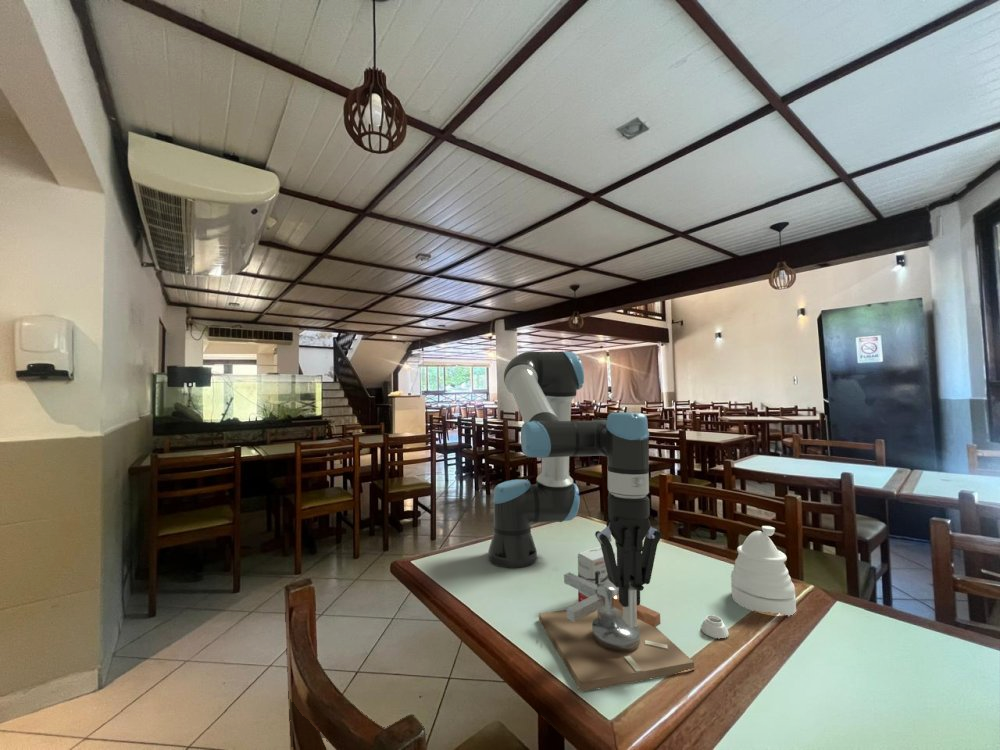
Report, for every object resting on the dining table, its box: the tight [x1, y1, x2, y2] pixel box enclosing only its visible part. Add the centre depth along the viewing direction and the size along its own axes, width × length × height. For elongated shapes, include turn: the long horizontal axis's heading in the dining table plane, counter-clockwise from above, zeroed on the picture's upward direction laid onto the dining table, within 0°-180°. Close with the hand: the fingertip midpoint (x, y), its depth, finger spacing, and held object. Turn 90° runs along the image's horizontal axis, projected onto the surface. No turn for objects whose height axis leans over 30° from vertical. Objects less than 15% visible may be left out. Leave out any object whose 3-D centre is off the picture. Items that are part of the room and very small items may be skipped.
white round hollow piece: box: [700, 614, 730, 640], centre depth 81 cm, size 5×3×5 cm
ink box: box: [577, 545, 616, 603], centre depth 94 cm, size 8×5×12 cm, turn 123°
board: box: [538, 609, 695, 693], centre depth 78 cm, size 22×22×2 cm
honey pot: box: [730, 525, 797, 617], centre depth 94 cm, size 13×13×18 cm
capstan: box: [563, 571, 661, 652], centre depth 78 cm, size 22×22×9 cm
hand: (629, 622), depth 72 cm, fingers closed
